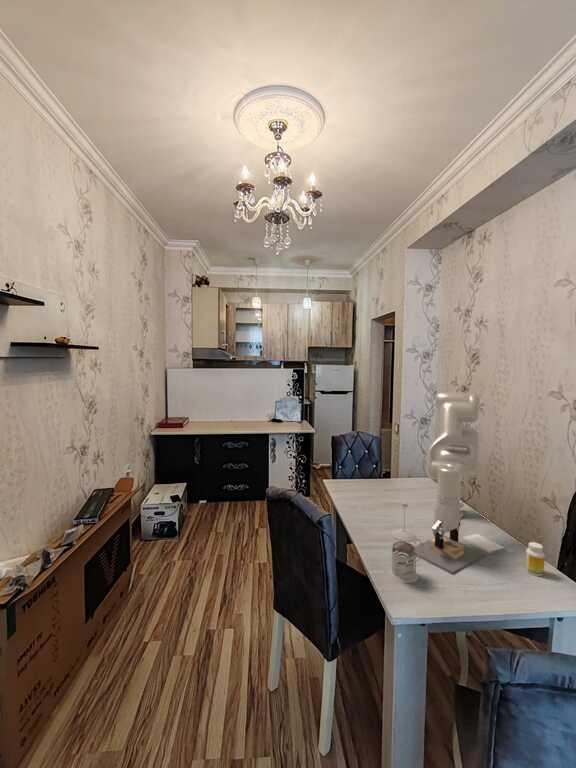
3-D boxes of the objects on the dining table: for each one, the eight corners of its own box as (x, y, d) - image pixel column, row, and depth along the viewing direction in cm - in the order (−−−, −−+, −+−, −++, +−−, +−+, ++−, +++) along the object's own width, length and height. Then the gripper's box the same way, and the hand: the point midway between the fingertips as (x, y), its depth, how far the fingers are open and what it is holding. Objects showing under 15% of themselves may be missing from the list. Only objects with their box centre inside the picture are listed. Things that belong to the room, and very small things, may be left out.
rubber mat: (441, 536, 148) (441, 534, 148) (485, 555, 134) (485, 553, 133) (407, 551, 136) (408, 549, 136) (452, 574, 121) (452, 572, 121)
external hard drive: (490, 555, 134) (463, 540, 146) (505, 551, 137) (477, 536, 149) (490, 551, 134) (463, 536, 146) (505, 547, 137) (477, 533, 149)
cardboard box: (463, 554, 132) (463, 545, 132) (455, 559, 129) (455, 550, 129) (438, 543, 140) (438, 535, 140) (429, 548, 137) (430, 539, 137)
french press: (384, 566, 126) (385, 497, 124) (416, 565, 127) (417, 496, 125) (394, 583, 116) (395, 508, 115) (429, 582, 117) (430, 507, 115)
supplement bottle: (521, 567, 125) (522, 541, 125) (536, 567, 126) (537, 540, 125) (532, 576, 120) (533, 549, 119) (548, 576, 120) (549, 548, 120)
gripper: (451, 492, 142) (450, 534, 143) (425, 501, 132) (423, 546, 133) (470, 498, 135) (468, 541, 136) (443, 508, 126) (442, 555, 127)
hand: (446, 544), depth 135 cm, fingers open, 9 cm apart
